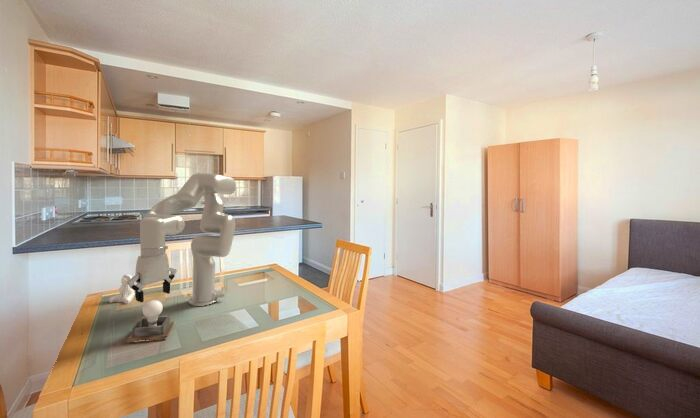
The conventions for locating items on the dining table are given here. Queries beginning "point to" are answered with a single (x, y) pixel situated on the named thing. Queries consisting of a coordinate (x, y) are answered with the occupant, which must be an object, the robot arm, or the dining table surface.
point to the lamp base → (151, 329)
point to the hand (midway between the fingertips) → (153, 296)
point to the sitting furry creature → (124, 292)
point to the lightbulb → (152, 311)
